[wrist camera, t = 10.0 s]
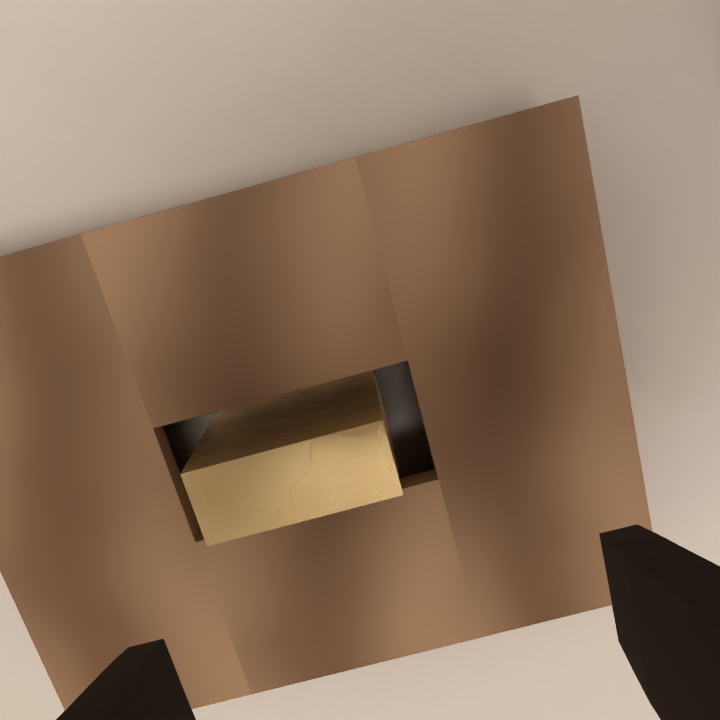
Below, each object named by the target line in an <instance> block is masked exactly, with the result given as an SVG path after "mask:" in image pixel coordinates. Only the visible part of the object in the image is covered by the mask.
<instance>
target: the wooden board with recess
mask: <svg viewBox="0 0 720 720" xmlns="http://www.w3.org/2000/svg"><path fill="white" fill-rule="evenodd" d="M405 361H407V363H408V367H409V371H410V374H411V378H412V382H413V386H414V390H415V394H416V398H417V402H418V405H419V409H420V413H421V417H422V421H423V425H424V429H425V433H426V437H427V440H428V444H429V448H430V452H431V456H432V460H433V464H434V468H435V469H433V470H430V471H426V472H422V473H418V474H414V475H410V476H406V477H403V478H400V481H401V486H402V491H403V495H402V496H398V497H394V498H390V499H387V500H383V501H379V502H375V503H371V504H367V505H364V506H360V507H356V508H352V509H348V510H344V511H341V512H337V513H333V514H329V515H325V516H322V517H318V518H314V519H310V520H306V521H302V522H299V523H295V524H291V525H287V526H283V527H279V528H276V529H272V530H268V531H264V532H260V533H257V534H253V535H249V536H245V537H241V538H237V539H234V540H230V541H226V542H222V543H218V544H215V545H211V546H207V545H206V542H205V539H204V537H203V534H202V531H201V529H200V526H199V524H198V521H197V518H196V515H195V513H194V510H193V507H192V505H191V502H190V499H189V496H188V494H187V491H186V488H185V486H184V483H183V480H182V478H181V475H180V472H179V469H178V466H177V464H176V461H175V458H174V456H173V453H172V450H171V447H170V445H169V442H168V439H167V437H166V434H165V431H164V428H163V426H164V425H168V424H172V423H175V422H179V421H183V420H187V419H190V418H194V417H198V416H202V415H205V414H209V413H213V412H217V411H220V410H224V409H228V408H232V407H235V406H239V405H243V404H247V403H250V402H254V401H258V400H262V399H266V398H269V397H273V396H277V395H281V394H284V393H288V392H292V391H296V390H299V389H303V388H307V387H311V386H314V385H318V384H322V383H326V382H329V381H333V380H337V379H341V378H344V377H348V376H352V375H356V374H360V373H363V372H367V371H371V370H375V369H378V368H382V367H386V366H390V365H393V364H397V363H401V362H405ZM636 524H638V525H640V526H642V527H644V528H646V529H648V530H650V531H652V528H651V522H650V516H649V510H648V504H647V498H646V492H645V486H644V480H643V474H642V469H641V463H640V457H639V451H638V445H637V439H636V433H635V427H634V421H633V415H632V409H631V404H630V398H629V392H628V386H627V380H626V374H625V368H624V362H623V356H622V350H621V344H620V339H619V333H618V327H617V321H616V315H615V309H614V303H613V297H612V291H611V285H610V279H609V274H608V268H607V262H606V256H605V250H604V244H603V238H602V232H601V226H600V220H599V215H598V209H597V203H596V197H595V191H594V185H593V179H592V173H591V167H590V161H589V155H588V150H587V144H586V138H585V132H584V126H583V120H582V114H581V108H580V102H579V96H574V97H571V98H567V99H564V100H560V101H556V102H553V103H549V104H546V105H542V106H538V107H535V108H531V109H528V110H524V111H521V112H517V113H513V114H510V115H506V116H503V117H499V118H495V119H492V120H488V121H485V122H481V123H478V124H474V125H470V126H467V127H463V128H460V129H456V130H453V131H449V132H445V133H442V134H438V135H435V136H431V137H427V138H424V139H420V140H417V141H413V142H410V143H406V144H402V145H399V146H395V147H392V148H388V149H384V150H381V151H377V152H374V153H370V154H367V155H363V156H359V157H356V158H352V159H349V160H345V161H341V162H338V163H334V164H331V165H327V166H324V167H320V168H316V169H313V170H309V171H306V172H302V173H299V174H295V175H291V176H288V177H284V178H281V179H277V180H273V181H270V182H266V183H263V184H259V185H256V186H252V187H248V188H245V189H241V190H238V191H234V192H230V193H227V194H223V195H220V196H216V197H213V198H209V199H205V200H202V201H198V202H195V203H191V204H188V205H184V206H180V207H177V208H173V209H170V210H166V211H162V212H159V213H155V214H152V215H148V216H145V217H141V218H137V219H134V220H130V221H127V222H123V223H119V224H116V225H112V226H109V227H105V228H102V229H98V230H94V231H91V232H87V233H84V234H80V235H77V236H73V237H69V238H66V239H62V240H59V241H55V242H51V243H48V244H44V245H41V246H37V247H34V248H30V249H26V250H23V251H19V252H16V253H12V254H8V255H5V256H1V257H0V572H1V574H2V576H3V578H4V580H5V582H6V584H7V587H8V589H9V591H10V593H11V595H12V597H13V600H14V602H15V604H16V606H17V608H18V610H19V613H20V615H21V617H22V619H23V621H24V623H25V625H26V628H27V630H28V632H29V634H30V636H31V638H32V641H33V643H34V645H35V647H36V649H37V651H38V653H39V656H40V658H41V660H42V662H43V664H44V666H45V669H46V671H47V673H48V675H49V677H50V679H51V681H52V684H53V686H54V688H55V690H56V692H57V694H58V697H59V699H60V701H61V703H62V705H63V707H64V710H66V709H67V708H68V707H69V706H70V705H71V704H72V703H73V702H74V701H75V700H76V699H77V697H78V696H79V695H80V694H81V693H82V692H83V691H84V690H85V689H86V688H87V687H88V686H89V685H90V684H91V683H92V682H93V681H94V680H95V679H96V678H97V677H98V676H99V675H100V674H101V673H102V672H103V671H104V670H105V669H106V668H107V667H108V666H109V665H110V664H111V663H112V662H113V661H114V660H115V659H116V658H117V657H118V656H119V655H120V654H121V653H122V652H123V651H125V650H126V649H127V648H128V647H131V646H135V645H139V644H144V643H148V642H152V641H156V640H160V639H164V641H165V643H166V646H167V648H168V651H169V653H170V656H171V658H172V661H173V664H174V666H175V669H176V671H177V674H178V676H179V679H180V681H181V684H182V686H183V689H184V691H185V694H186V697H187V699H188V702H189V704H190V707H191V709H194V708H198V707H202V706H206V705H210V704H214V703H218V702H222V701H226V700H230V699H234V698H238V697H242V696H246V695H250V694H254V693H258V692H262V691H266V690H271V689H275V688H279V687H283V686H287V685H291V684H295V683H299V682H303V681H307V680H311V679H315V678H319V677H323V676H327V675H331V674H335V673H339V672H343V671H347V670H351V669H355V668H359V667H363V666H367V665H371V664H375V663H379V662H383V661H387V660H392V659H396V658H400V657H404V656H408V655H412V654H416V653H420V652H424V651H428V650H432V649H436V648H440V647H444V646H448V645H452V644H456V643H460V642H464V641H468V640H472V639H476V638H480V637H484V636H488V635H492V634H496V633H500V632H504V631H508V630H513V629H517V628H521V627H525V626H529V625H533V624H537V623H541V622H545V621H549V620H553V619H557V618H561V617H565V616H569V615H573V614H577V613H581V612H585V611H589V610H593V609H597V608H601V607H605V606H609V605H612V601H611V596H610V590H609V585H608V579H607V574H606V568H605V563H604V558H603V552H602V547H601V541H600V536H599V533H603V532H607V531H611V530H616V529H620V528H624V527H628V526H632V525H636Z"/></svg>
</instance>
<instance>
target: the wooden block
mask: <svg viewBox="0 0 720 720" xmlns="http://www.w3.org/2000/svg"><path fill="white" fill-rule="evenodd" d="M180 475H181V478H182V480H183V483H184V486H185V488H186V491H187V494H188V496H189V499H190V502H191V504H192V507H193V510H194V513H195V515H196V518H197V521H198V523H199V526H200V529H201V531H202V534H203V537H204V539H205V542H206V545H207V546H211V545H215V544H218V543H222V542H226V541H230V540H234V539H237V538H241V537H245V536H249V535H253V534H257V533H260V532H264V531H268V530H272V529H276V528H279V527H283V526H287V525H291V524H295V523H299V522H302V521H306V520H310V519H314V518H318V517H322V516H325V515H329V514H333V513H337V512H341V511H344V510H348V509H352V508H356V507H360V506H364V505H367V504H371V503H375V502H379V501H383V500H387V499H390V498H394V497H398V496H402V495H403V491H402V486H401V481H400V477H399V472H398V467H397V462H396V458H395V453H394V448H393V443H392V439H391V434H390V429H389V425H388V421H387V417H386V414H385V410H384V406H383V403H382V399H381V396H380V392H379V388H378V385H377V381H376V377H375V374H374V370H371V371H367V372H363V373H360V374H356V375H352V376H348V377H344V378H341V379H337V380H333V381H329V382H326V383H322V384H318V385H314V386H311V387H307V388H303V389H299V390H296V391H292V392H288V393H284V394H281V395H277V396H273V397H269V398H266V399H262V400H258V401H254V402H250V403H247V404H243V405H239V406H235V407H232V408H228V409H224V410H220V411H217V413H216V414H215V416H214V418H213V419H212V421H211V423H210V425H209V426H208V428H207V430H206V431H205V433H204V435H203V436H202V438H201V440H200V442H199V443H198V445H197V447H196V448H195V450H194V452H193V453H192V455H191V457H190V458H189V460H188V462H187V464H186V465H185V467H184V469H183V470H182V472H181V474H180Z"/></svg>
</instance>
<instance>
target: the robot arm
mask: <svg viewBox="0 0 720 720" xmlns="http://www.w3.org/2000/svg"><path fill="white" fill-rule="evenodd" d="M599 536H600V541H601V547H602V552H603V558H604V563H605V568H606V574H607V579H608V585H609V590H610V596H611V601H612V607H613V612H614V618H615V623H616V629H617V634H618V640H619V643H620V645H621V647H622V649H623V651H624V653H625V655H626V657H627V659H628V661H629V663H630V665H631V667H632V669H633V671H634V673H635V675H636V677H637V679H638V681H639V682H640V684H641V686H642V688H643V690H644V692H645V694H646V696H647V698H648V700H649V702H650V703H651V705H652V707H653V708H654V710H655V711H656V713H657V714H658V716H659V717H660V719H661V720H720V566H718V565H716V564H714V563H712V562H710V561H708V560H706V559H704V558H702V557H700V556H698V555H696V554H695V553H693V552H691V551H689V550H687V549H685V548H683V547H681V546H679V545H677V544H675V543H673V542H672V541H670V540H668V539H666V538H664V537H662V536H660V535H658V534H656V533H654V532H652V531H650V530H648V529H646V528H644V527H642V526H640V525H638V524H636V525H632V526H628V527H624V528H620V529H616V530H611V531H607V532H603V533H599ZM56 720H196V719H195V717H194V714H193V712H192V709H191V707H190V704H189V702H188V699H187V697H186V694H185V691H184V689H183V686H182V684H181V681H180V679H179V676H178V674H177V671H176V669H175V666H174V664H173V661H172V658H171V656H170V653H169V651H168V648H167V646H166V643H165V641H164V639H160V640H156V641H152V642H148V643H144V644H139V645H135V646H131V647H128V648H127V649H126V650H125V651H123V652H122V653H121V654H120V655H119V656H118V657H117V658H116V659H115V660H114V661H113V662H112V663H111V664H110V665H109V666H108V667H107V668H106V669H105V670H104V671H103V672H102V673H101V674H100V675H99V676H98V677H97V678H96V679H95V680H94V681H93V682H92V683H91V684H90V685H89V686H88V687H87V688H86V689H85V690H84V691H83V692H82V693H81V694H80V695H79V696H78V697H77V699H76V700H75V701H74V702H73V703H72V704H71V705H70V706H69V707H68V708H67V709H66V710H65V711H64V712H63V713H62V714H61V715H60V716H59V717H58V718H57V719H56Z"/></svg>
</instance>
